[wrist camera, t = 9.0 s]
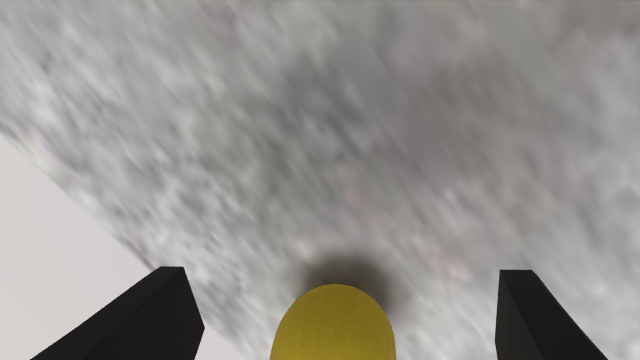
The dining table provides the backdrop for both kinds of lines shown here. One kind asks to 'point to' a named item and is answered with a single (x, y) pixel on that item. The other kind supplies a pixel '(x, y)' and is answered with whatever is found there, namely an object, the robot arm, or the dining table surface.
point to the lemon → (334, 327)
